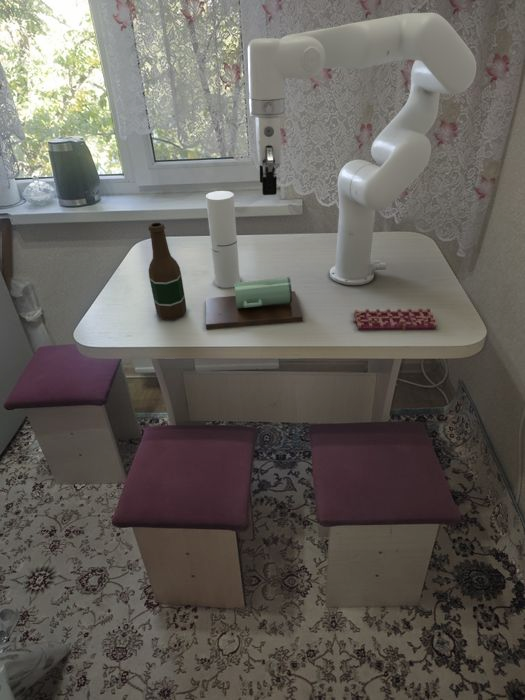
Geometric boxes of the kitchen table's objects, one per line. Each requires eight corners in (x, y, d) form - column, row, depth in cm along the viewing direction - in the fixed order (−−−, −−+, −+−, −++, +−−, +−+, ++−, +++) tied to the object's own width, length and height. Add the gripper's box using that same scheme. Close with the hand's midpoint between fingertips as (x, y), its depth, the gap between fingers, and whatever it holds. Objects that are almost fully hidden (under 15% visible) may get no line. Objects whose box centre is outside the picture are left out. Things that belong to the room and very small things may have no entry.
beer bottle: (173, 324, 114) (157, 233, 100) (150, 316, 118) (131, 227, 103) (193, 310, 119) (179, 221, 105) (170, 302, 123) (155, 216, 109)
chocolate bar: (351, 314, 115) (352, 307, 114) (427, 313, 114) (429, 306, 113) (355, 330, 109) (356, 323, 108) (435, 329, 108) (437, 322, 107)
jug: (236, 300, 120) (288, 294, 120) (238, 319, 112) (294, 312, 113) (233, 278, 116) (288, 272, 116) (235, 295, 108) (293, 289, 109)
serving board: (294, 295, 124) (294, 291, 123) (302, 321, 113) (302, 316, 112) (206, 302, 122) (206, 298, 121) (206, 329, 112) (205, 324, 111)
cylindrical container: (236, 288, 128) (229, 200, 113) (212, 287, 129) (202, 199, 114) (242, 277, 134) (236, 191, 119) (219, 275, 135) (210, 190, 120)
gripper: (288, 113, 91) (287, 199, 101) (280, 101, 105) (280, 177, 115) (251, 114, 91) (254, 200, 101) (248, 102, 105) (250, 178, 115)
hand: (267, 188), depth 108 cm, fingers open, 9 cm apart
